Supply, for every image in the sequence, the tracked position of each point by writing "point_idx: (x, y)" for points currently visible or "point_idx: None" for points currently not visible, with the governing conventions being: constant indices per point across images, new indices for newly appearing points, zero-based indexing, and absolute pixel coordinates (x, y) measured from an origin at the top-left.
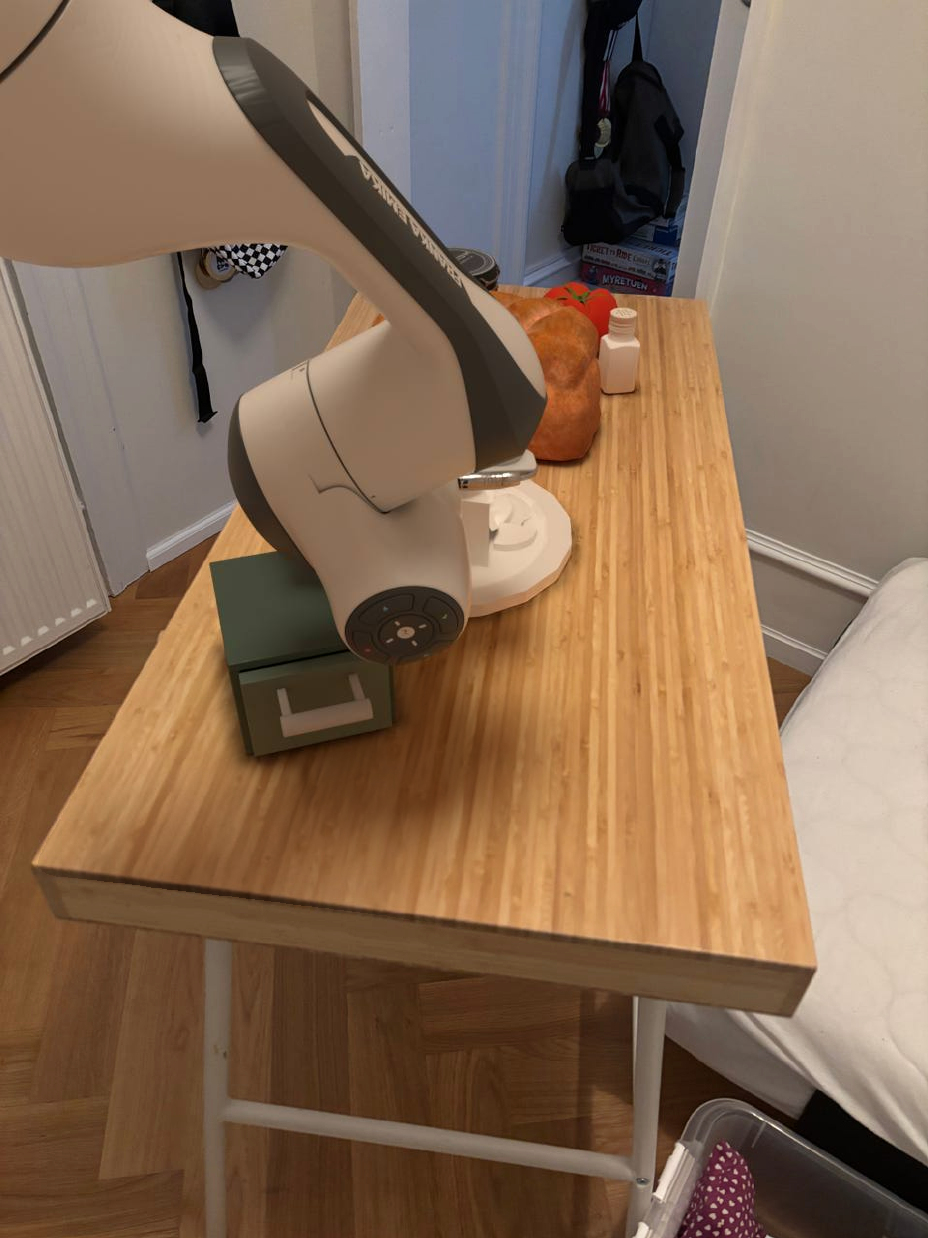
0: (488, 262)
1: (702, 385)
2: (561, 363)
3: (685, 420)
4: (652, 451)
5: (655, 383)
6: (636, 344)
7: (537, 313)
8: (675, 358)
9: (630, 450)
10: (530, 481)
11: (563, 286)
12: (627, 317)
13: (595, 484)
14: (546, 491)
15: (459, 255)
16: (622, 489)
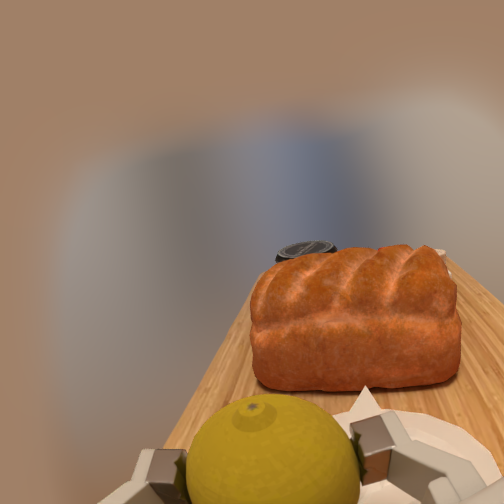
0: (328, 244)
1: (482, 290)
2: (441, 295)
3: (494, 316)
4: (495, 347)
5: (457, 296)
6: (449, 272)
7: (400, 256)
8: (454, 279)
9: (481, 352)
10: (432, 417)
11: (378, 250)
12: (441, 254)
13: (479, 395)
14: (452, 425)
15: (308, 245)
16: (501, 392)
